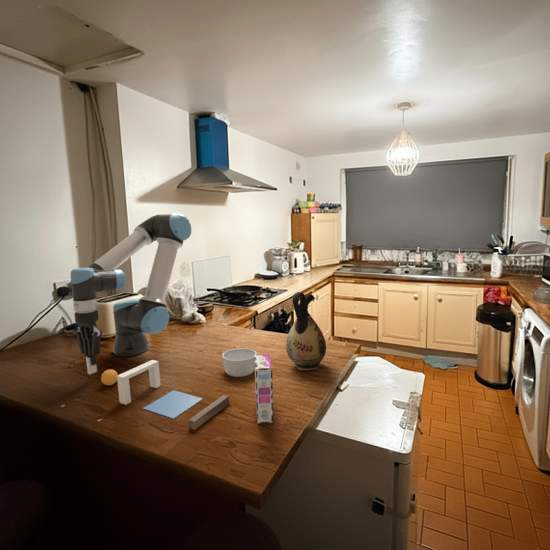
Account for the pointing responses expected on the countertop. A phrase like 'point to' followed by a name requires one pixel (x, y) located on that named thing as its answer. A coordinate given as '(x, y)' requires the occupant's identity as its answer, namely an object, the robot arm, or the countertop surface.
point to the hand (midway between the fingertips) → (92, 372)
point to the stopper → (208, 412)
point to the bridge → (124, 377)
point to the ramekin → (239, 362)
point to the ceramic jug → (305, 336)
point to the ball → (109, 377)
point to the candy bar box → (263, 389)
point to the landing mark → (173, 404)
